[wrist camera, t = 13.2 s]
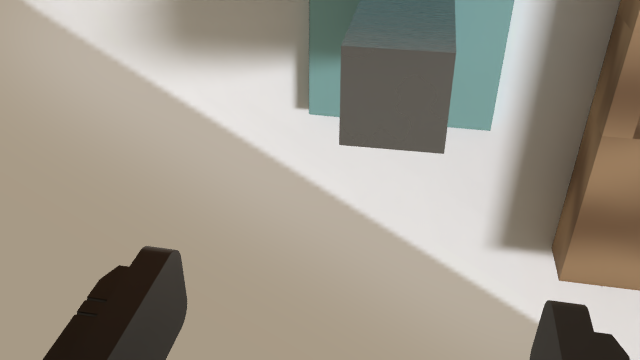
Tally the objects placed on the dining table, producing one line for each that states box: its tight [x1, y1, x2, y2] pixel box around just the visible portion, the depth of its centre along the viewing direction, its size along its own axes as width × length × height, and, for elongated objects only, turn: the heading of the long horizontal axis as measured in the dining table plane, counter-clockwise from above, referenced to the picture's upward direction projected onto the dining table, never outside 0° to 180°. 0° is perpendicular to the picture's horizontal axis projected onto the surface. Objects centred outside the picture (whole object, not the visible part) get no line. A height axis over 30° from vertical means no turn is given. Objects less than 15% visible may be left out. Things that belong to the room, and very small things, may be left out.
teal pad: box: [309, 0, 514, 131], centre depth 31 cm, size 12×10×1 cm
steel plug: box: [339, 0, 456, 154], centre depth 27 cm, size 4×4×10 cm
